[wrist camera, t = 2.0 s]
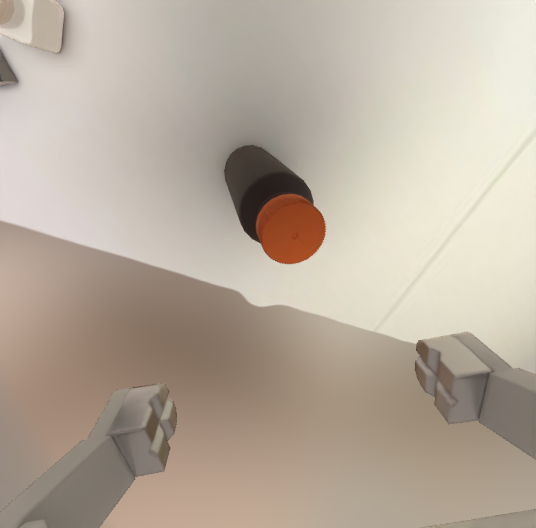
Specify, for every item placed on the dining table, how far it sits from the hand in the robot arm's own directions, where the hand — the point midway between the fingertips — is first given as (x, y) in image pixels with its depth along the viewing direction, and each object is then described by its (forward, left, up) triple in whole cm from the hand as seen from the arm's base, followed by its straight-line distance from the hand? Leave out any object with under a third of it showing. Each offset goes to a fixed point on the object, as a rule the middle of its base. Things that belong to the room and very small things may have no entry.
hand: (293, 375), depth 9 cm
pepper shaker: (-16, -13, -32) cm, 38 cm away
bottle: (+2, +3, -32) cm, 32 cm away
